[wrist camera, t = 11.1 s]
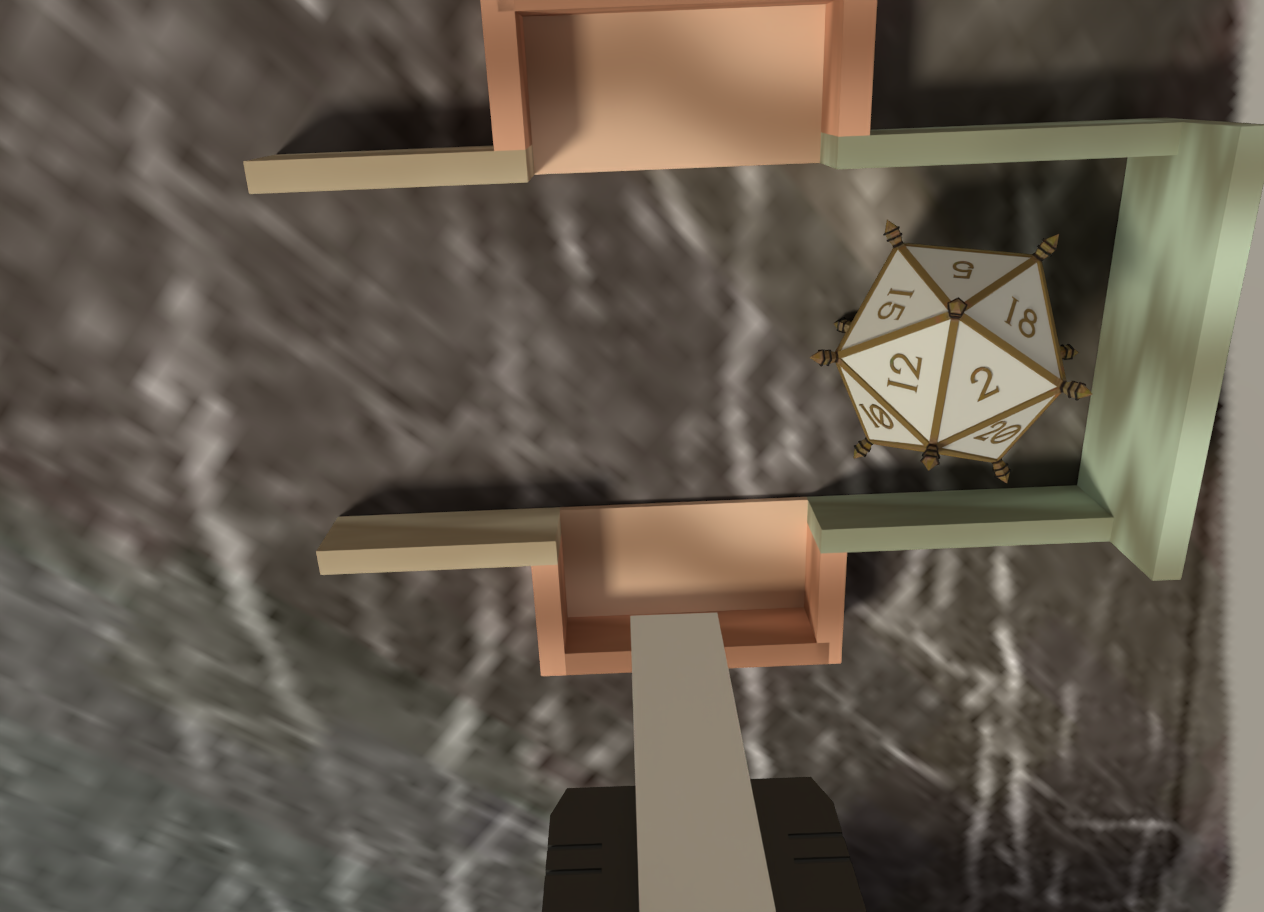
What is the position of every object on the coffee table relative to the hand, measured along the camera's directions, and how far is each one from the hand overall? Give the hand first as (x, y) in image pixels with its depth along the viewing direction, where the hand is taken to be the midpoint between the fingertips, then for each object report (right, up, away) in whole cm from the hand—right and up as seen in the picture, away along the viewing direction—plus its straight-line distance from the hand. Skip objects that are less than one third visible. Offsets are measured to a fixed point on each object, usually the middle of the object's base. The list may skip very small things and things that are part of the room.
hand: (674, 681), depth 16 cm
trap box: (+2, +8, +19) cm, 21 cm away
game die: (+10, +9, +19) cm, 23 cm away
